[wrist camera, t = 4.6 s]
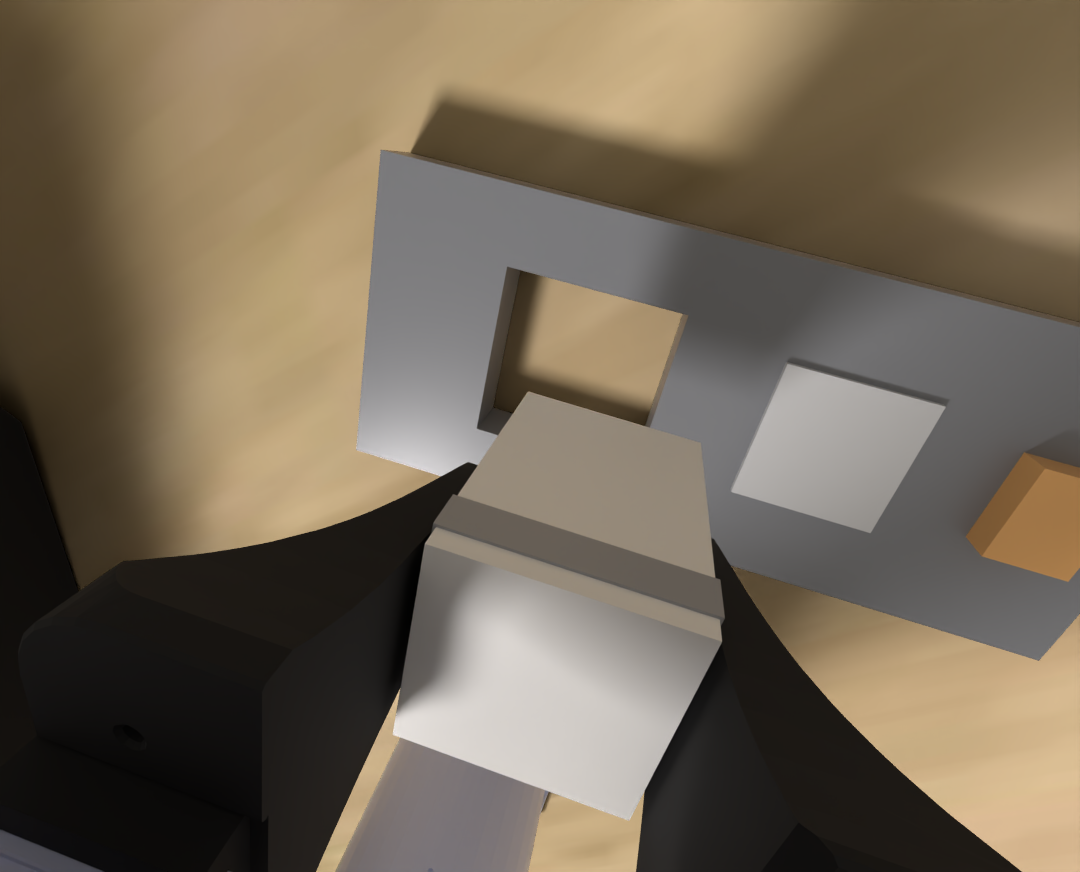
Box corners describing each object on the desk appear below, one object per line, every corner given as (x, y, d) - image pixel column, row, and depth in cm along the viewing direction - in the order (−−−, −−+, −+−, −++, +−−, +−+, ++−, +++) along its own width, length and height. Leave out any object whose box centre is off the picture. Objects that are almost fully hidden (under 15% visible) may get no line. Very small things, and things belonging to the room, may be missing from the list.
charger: (646, 581, 14) (631, 823, 9) (493, 531, 15) (389, 735, 9) (703, 441, 12) (727, 640, 7) (526, 388, 13) (421, 539, 7)
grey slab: (1215, 356, 16) (1326, 393, 13) (1006, 618, 20) (1057, 685, 18) (409, 152, 18) (363, 148, 15) (381, 428, 22) (342, 462, 20)
